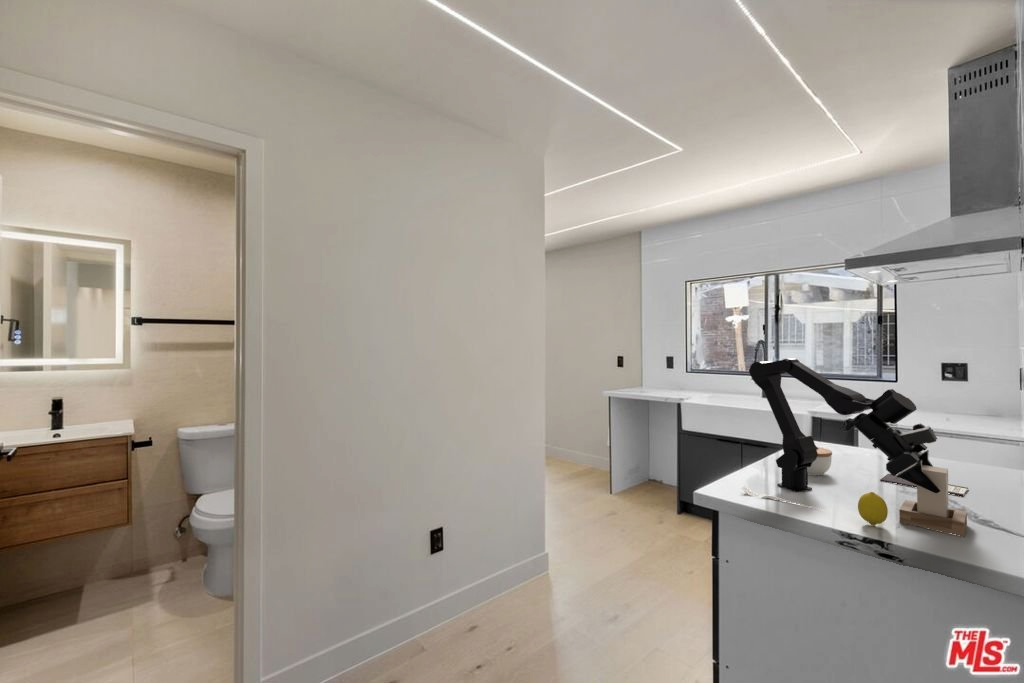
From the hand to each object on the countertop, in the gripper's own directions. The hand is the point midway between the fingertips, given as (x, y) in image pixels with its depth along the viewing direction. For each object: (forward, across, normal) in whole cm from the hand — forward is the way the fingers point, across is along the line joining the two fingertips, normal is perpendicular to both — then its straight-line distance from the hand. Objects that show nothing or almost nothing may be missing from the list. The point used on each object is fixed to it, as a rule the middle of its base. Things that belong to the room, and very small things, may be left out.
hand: (940, 487), depth 106 cm
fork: (-15, -9, +29) cm, 34 cm away
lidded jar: (-16, +26, +30) cm, 42 cm away
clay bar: (+5, 0, +6) cm, 8 cm away
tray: (+5, 0, +7) cm, 9 cm away
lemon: (-1, -11, +14) cm, 18 cm away
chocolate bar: (+2, +34, +12) cm, 36 cm away
